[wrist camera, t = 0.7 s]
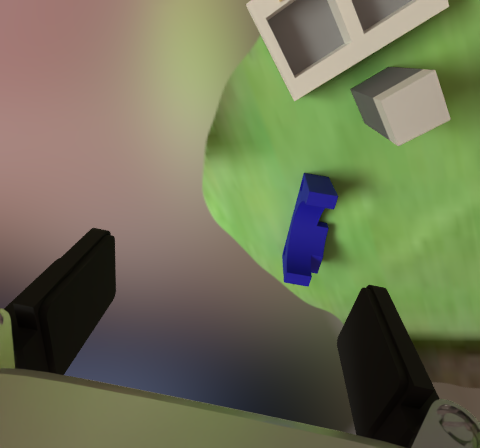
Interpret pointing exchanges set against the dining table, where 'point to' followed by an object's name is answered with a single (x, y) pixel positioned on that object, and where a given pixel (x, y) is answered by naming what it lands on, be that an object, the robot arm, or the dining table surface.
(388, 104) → the plug
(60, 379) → the robot arm
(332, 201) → the blue notched block
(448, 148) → the dining table surface
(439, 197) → the dining table surface
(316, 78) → the socket strip
